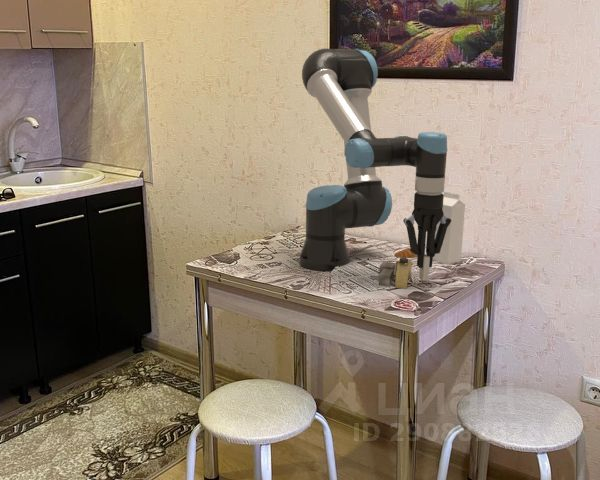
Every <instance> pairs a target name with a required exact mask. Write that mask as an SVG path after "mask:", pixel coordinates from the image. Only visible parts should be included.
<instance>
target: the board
mask: <svg viewBox="0 0 600 480" xmlns="http://www.w3.org/2000/svg"><path fill="white" fill-rule="evenodd" d="M399 260H400V261H399V262H401V263H408V261H409V258H399ZM378 267H379V268H378V269H379V272H378V286H381V287H382V286H383V287H390V286H391V284H392V282H393V281H394V276H395V268H396V262H390V261H382V262H381V264H379V266H378Z"/></svg>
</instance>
